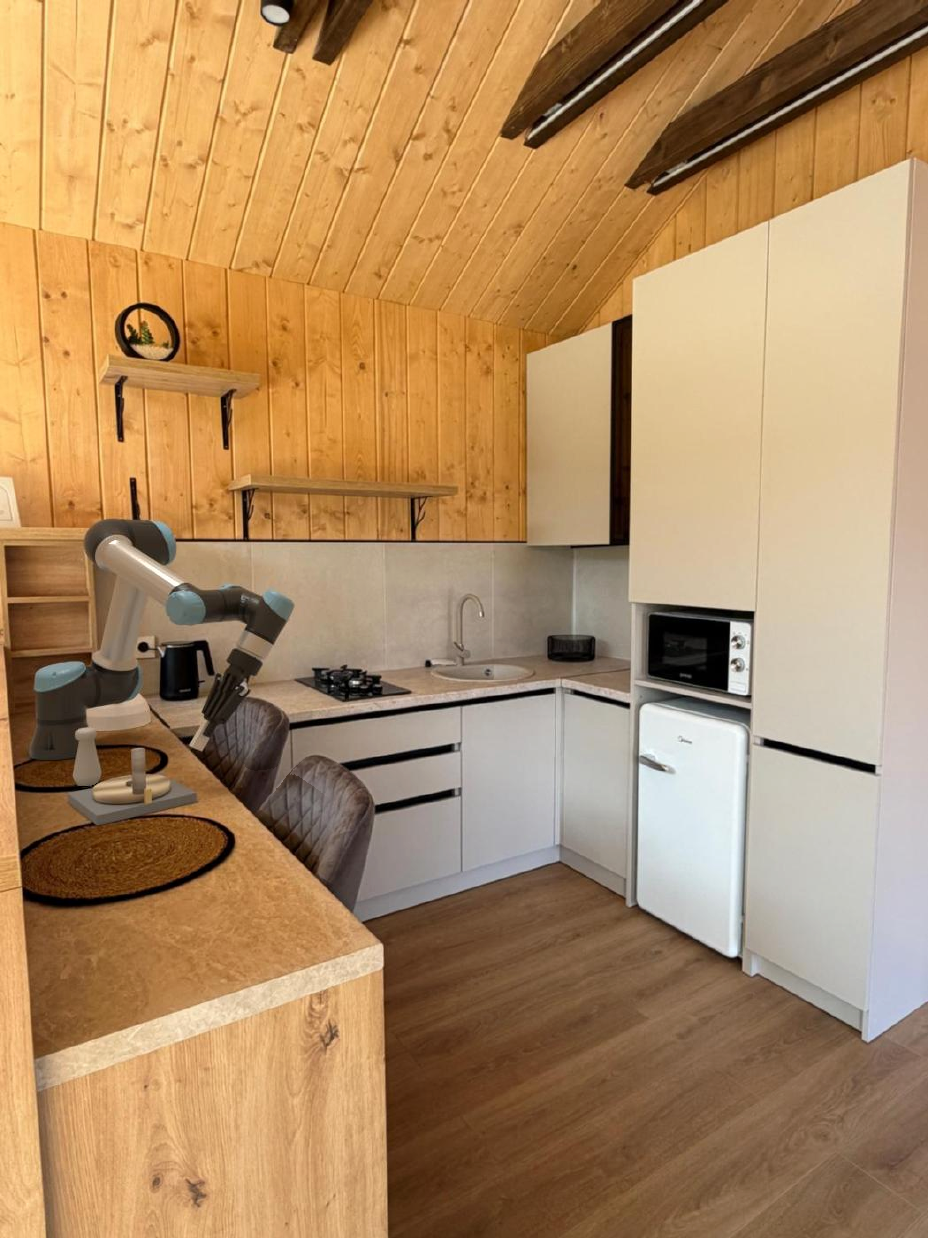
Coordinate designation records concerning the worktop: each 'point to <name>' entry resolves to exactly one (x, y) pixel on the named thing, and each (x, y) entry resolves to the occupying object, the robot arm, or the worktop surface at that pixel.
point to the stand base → (130, 804)
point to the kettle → (119, 715)
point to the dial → (131, 783)
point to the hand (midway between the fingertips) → (195, 748)
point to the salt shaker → (86, 758)
